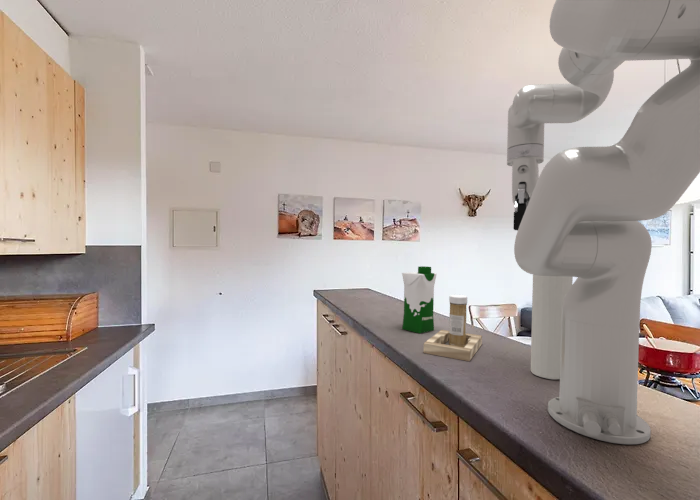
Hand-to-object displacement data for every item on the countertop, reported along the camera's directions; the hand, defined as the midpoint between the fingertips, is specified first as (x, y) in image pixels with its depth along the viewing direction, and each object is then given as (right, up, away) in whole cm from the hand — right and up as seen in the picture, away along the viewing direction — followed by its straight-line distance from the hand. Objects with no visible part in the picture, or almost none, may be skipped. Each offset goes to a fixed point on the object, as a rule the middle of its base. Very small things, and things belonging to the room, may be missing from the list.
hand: (523, 231), depth 78 cm
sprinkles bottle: (-11, -30, +12) cm, 34 cm away
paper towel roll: (+2, -31, -8) cm, 32 cm away
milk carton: (-19, -30, +29) cm, 45 cm away
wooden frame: (-13, -30, +10) cm, 34 cm away
